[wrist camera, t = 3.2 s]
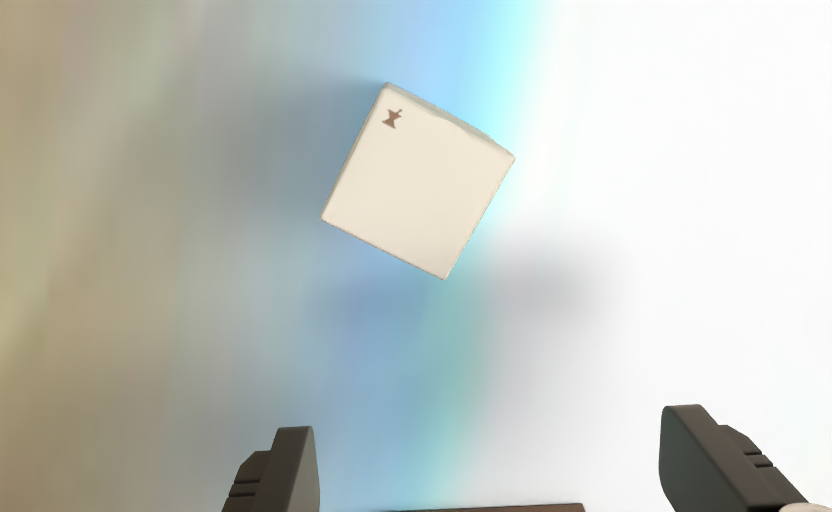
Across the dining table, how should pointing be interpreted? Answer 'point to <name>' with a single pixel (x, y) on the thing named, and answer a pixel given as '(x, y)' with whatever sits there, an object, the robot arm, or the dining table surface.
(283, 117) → the dining table surface
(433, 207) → the product box
